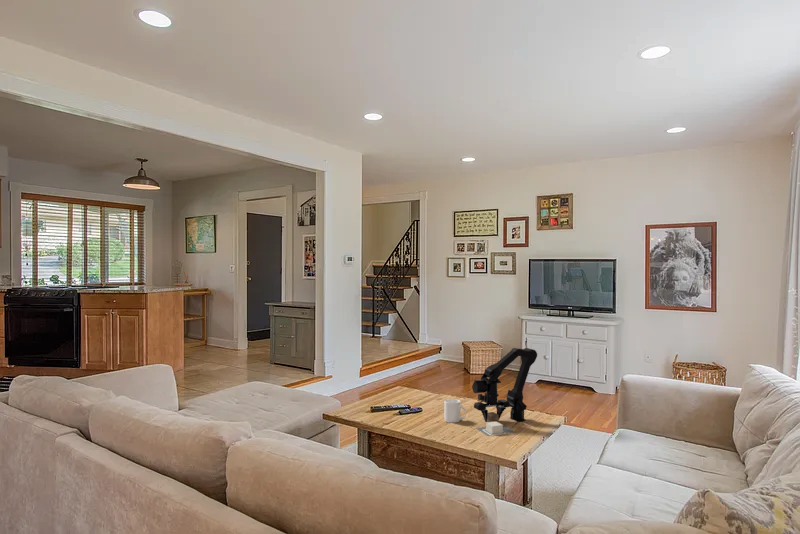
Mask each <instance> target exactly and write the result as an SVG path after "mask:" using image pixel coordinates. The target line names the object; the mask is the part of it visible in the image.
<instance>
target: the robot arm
mask: <svg viewBox="0 0 800 534" xmlns="http://www.w3.org/2000/svg"><path fill="white" fill-rule="evenodd" d="M518 357H520V361H521V363H520V366H519V370H518V373H517V377H516V379H515V382H514V384H513V385H514V386H513V388H512V389H508V391H507V394H506V399H498V397H499V394H498V384H501V383H502V381H501V380H500V379H499V378H500V376H501V375H502V373H503V371H504V369H506V368H507V367H508V366H509V365H510V364H511V363H512V362H514V361H515V360H516V359H517V358H518ZM537 357H538V353H537V351H536V350H535V349H532V348H529V347H525V348H517V347H513V348H512V349H511V350H510V351H509V352H507V353H506V354H505V355H504V356H503V357H502V358H501V359H500V360H498V361H497V362H496V363H493V364H491V365H489V366H487V367H486V368H485V369H484V372H483V374H482V376H481V377H480V379H474V381H473V383H472V386H471V387H472V392H473V393H474V394H477V399H478V400H477V401H478V402H474V404H473V408H474V409H475V410H477V411H481V414H482V416H483V419H484V422H485V423H487V416H488V413H489V411H488V410H489V409H487V408H491V407H495V408H496V414H498V421H499V420H500V419H501V416H502V414H503V413H504V411H505V410H506V409H507V408H510V417H509V419H510V420H512V421H514V422H516V423H518V422H524V421H527V419H526V418H525V411H526V410H527V405H526V404H525V402H523V401H524V394H523V390H524V388H525V384H526V381H527V378H528V375H529V372H530V368H531V366H532V365H533V364H534V363H535V362H536V360H537Z"/></svg>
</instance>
